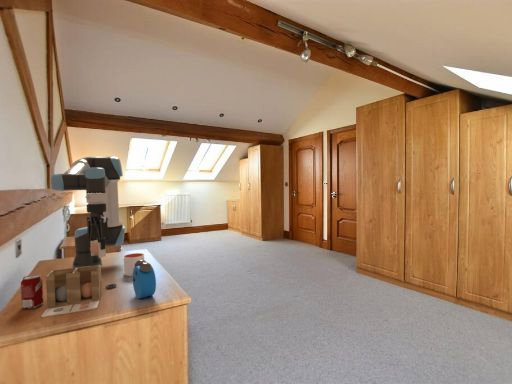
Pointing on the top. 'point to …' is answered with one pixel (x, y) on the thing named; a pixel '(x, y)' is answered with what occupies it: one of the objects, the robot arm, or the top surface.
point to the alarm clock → (143, 279)
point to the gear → (110, 286)
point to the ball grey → (61, 294)
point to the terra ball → (94, 249)
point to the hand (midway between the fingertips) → (98, 255)
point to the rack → (73, 285)
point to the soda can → (31, 291)
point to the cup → (131, 262)
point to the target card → (70, 308)
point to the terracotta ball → (86, 290)
